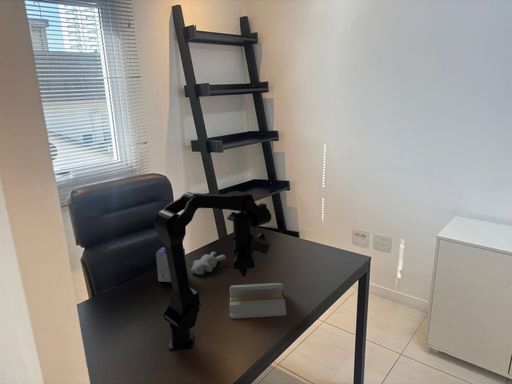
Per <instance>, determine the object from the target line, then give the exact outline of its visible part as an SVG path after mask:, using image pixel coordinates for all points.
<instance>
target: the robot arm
mask: <svg viewBox="0 0 512 384" xmlns="http://www.w3.org/2000/svg"><path fill="white" fill-rule="evenodd" d="M198 209H229V210H233V211H232V212H230V214H229V215H228V216H227V217H226V220H228V221H231V222H232V227H233V232H232V233H233V243H232V244H233V252H234V253H233V269H234V270H238V271H239V273H240V274H241V276H242V277H243V278H244V277H247V271H248V269H254V268H255V257H254V256H253V253H254V251H256V252H258V253H262V254H264V255H268V252H269V249H270V247H271V243H270V240H269V239H268V238H266V235H265V233H263V232H260V233H259V234H257V235H253V234H254V233H253V232H252V227H253V228H258V227H260V226H263V225H267V224H269V223H270V222H271V221H272V214H271V211H270V209H269V208H268V206H267V204H266V203H263V202H262V203H259V204H257V203H256V202H255V199H254V196H253V195H252V194H250V193H246V192H243V191H239V190H233V191H228V192H227V193H224V194H223V193H222V194H220V193H217V194H216V193H201V192H200V193H198V192H192V191H191V192H189V191H187V192H185V193H183V194H182V195H181V196H180V197H179V198H177V199H175V200H174V201H172V202H170V203H169V204H167V205H166V206H164V208H163V209H162V210H159V211H158V212H157V213H156V214H155V216H154V217H153V226H154V228H155V230H156V232H157V235H158V237H159V238H160V240H161V241H162V242H163V245H164V248H165V251H166V256H167V261H168V267H169V272H170V277H171V282H170V283H171V287H172V291H171V292H170V295H169V305H168V306H167V308H166V309H165V311H164V313H163V315H162V317H163V320H164V321H165V322H167V323H169V331H170V339H169V344H168V350H171V351H172V350H183V349H184V350H185V349H192V348H193V342H194V335H195V334H194V332H192V331H191V329H192V328H194V327H195V326H196V324H197V323H196V322H197V318H198V314H199V313H200V306H201V305H202V303H201V301H200V293H199V291H196V290H195V289H193V288H192V287H191V285H190V279H189V274H188V269H187V261H185V259H186V254H185V255H184V249H185V248H184V245H183V242H184V240H185V236H186V234H187V233H186V232H187V231H186V230H187V228H186V227H187V226H188V225H189V224H190V223H191V222H192V220H193V219H194V216H195V213H196V212H197V210H198ZM234 211H237V212H234ZM179 213H180V214H179ZM183 248H184V249H183Z"/></svg>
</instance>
